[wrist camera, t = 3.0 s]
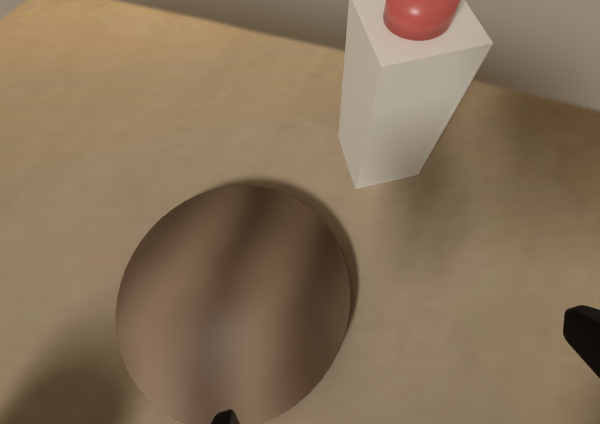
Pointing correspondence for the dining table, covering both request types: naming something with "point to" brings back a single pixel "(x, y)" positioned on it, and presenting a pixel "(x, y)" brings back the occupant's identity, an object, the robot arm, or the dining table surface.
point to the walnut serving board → (233, 306)
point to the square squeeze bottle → (403, 82)
